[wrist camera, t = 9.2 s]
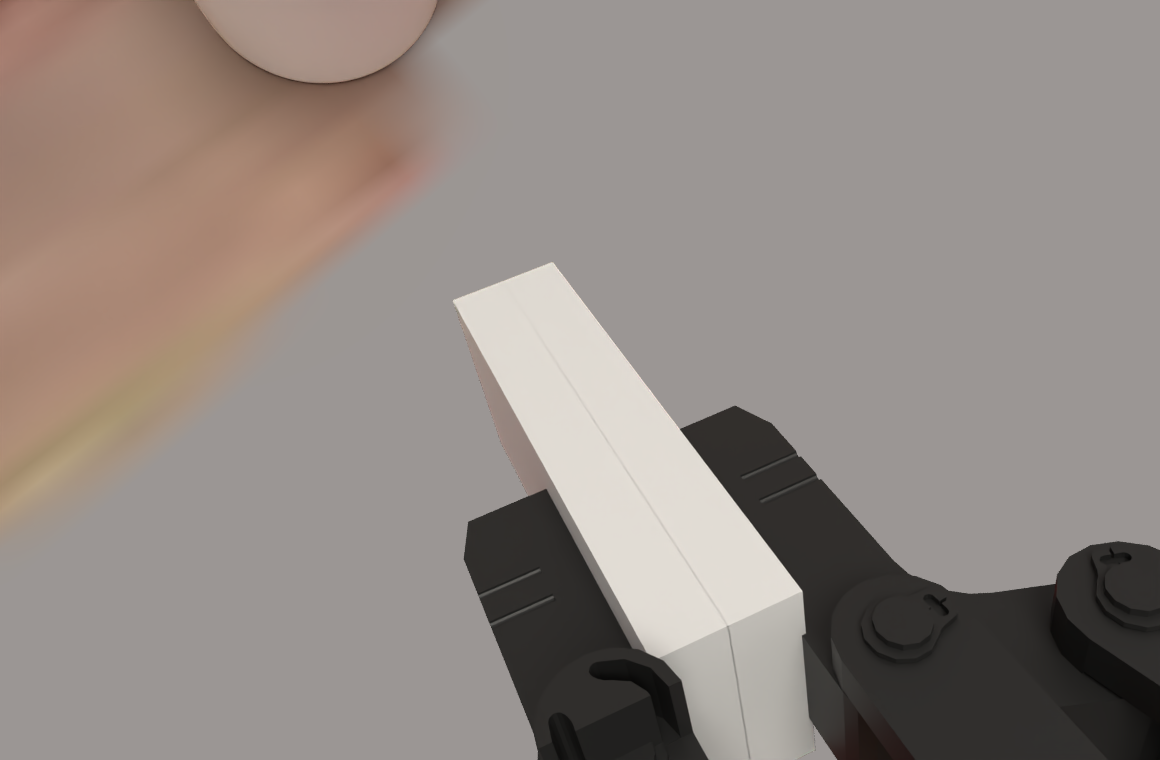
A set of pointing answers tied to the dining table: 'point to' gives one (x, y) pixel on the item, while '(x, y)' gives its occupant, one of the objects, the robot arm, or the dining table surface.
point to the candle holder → (319, 34)
